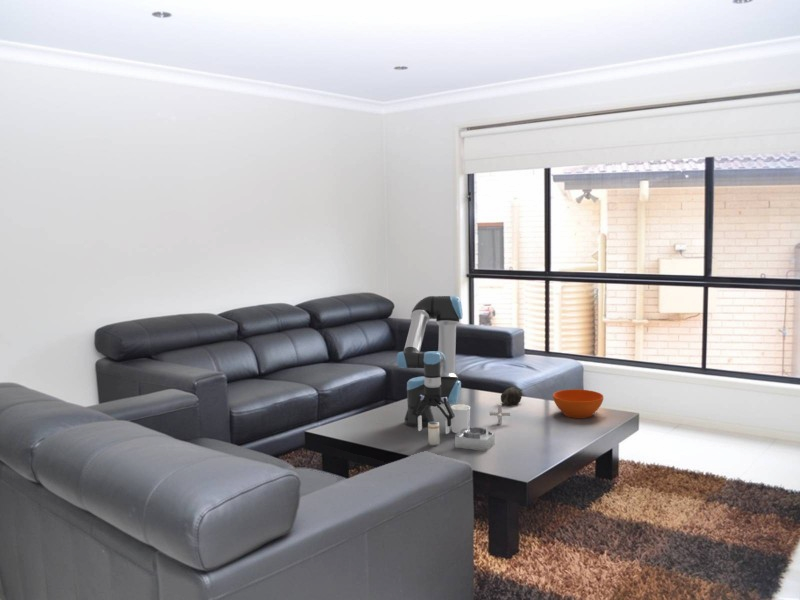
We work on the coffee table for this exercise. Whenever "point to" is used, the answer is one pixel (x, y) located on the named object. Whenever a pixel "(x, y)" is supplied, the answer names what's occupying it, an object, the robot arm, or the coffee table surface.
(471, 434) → the cradle fixture plate
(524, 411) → the coffee table surface
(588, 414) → the bowl
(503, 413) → the pipe connector
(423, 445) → the coffee table surface
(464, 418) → the candle holder
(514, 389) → the rock
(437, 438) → the cream flashlight
